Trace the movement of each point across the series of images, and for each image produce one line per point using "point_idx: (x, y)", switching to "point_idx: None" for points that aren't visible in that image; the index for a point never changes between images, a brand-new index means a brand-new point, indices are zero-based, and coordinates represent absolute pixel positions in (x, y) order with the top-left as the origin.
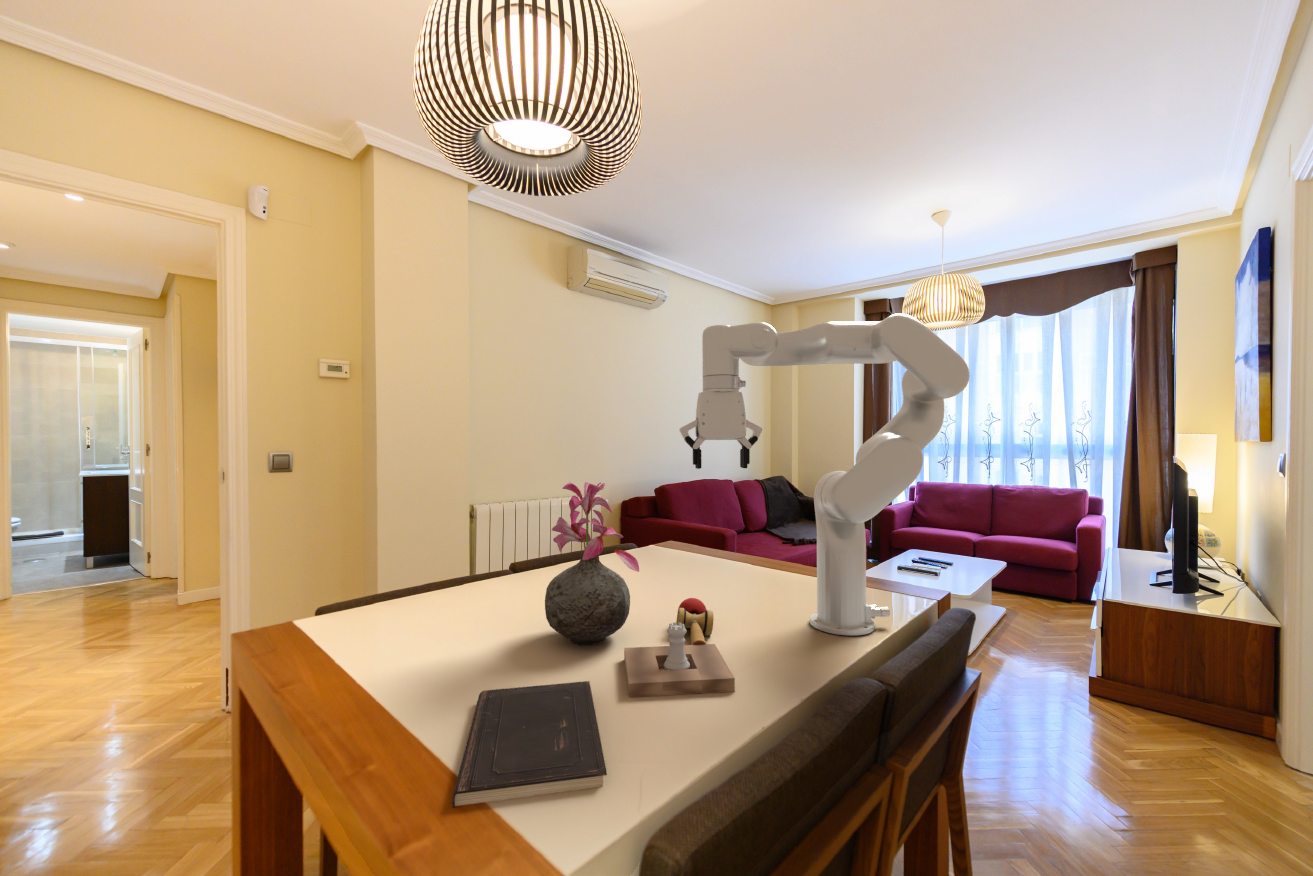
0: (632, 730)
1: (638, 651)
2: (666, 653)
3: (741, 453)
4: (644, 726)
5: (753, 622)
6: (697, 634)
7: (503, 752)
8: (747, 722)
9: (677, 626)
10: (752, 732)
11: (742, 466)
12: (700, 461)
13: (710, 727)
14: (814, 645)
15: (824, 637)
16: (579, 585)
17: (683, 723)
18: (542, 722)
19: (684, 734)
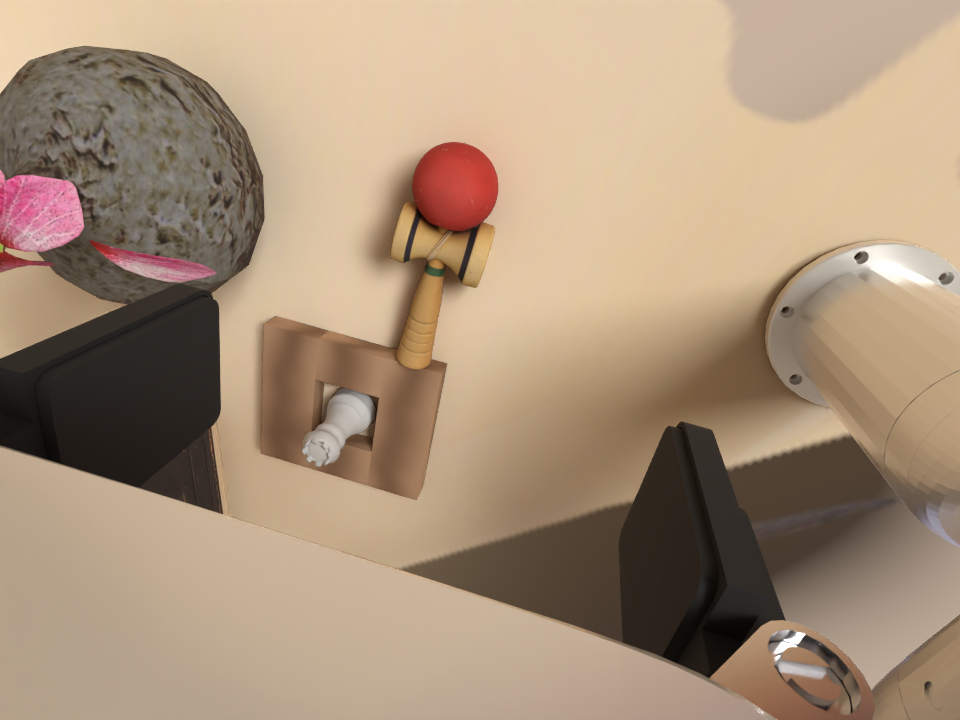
0: (269, 509)
1: (287, 350)
2: (336, 378)
3: (666, 585)
4: (283, 508)
5: (643, 209)
6: (413, 340)
7: None
8: (405, 550)
9: (319, 451)
10: (401, 566)
11: (636, 503)
12: (168, 457)
13: (358, 540)
14: (678, 399)
15: (740, 372)
16: (77, 283)
17: (329, 521)
18: (160, 490)
19: (325, 539)
